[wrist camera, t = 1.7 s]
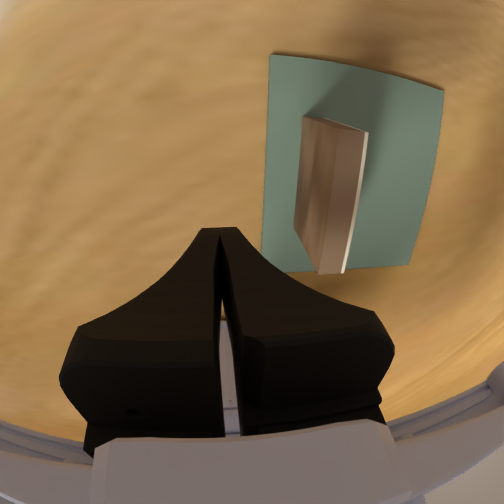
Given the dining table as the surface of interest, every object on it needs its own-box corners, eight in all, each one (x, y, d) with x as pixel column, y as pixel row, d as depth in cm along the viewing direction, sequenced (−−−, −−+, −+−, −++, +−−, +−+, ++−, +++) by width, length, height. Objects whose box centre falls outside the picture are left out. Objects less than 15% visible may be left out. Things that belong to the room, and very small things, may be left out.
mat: (406, 262, 25) (408, 264, 25) (259, 270, 24) (260, 273, 23) (441, 91, 17) (444, 91, 17) (269, 55, 15) (270, 54, 15)
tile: (313, 226, 22) (343, 273, 17) (293, 227, 21) (318, 274, 16) (325, 118, 18) (368, 132, 12) (302, 116, 17) (338, 129, 12)
